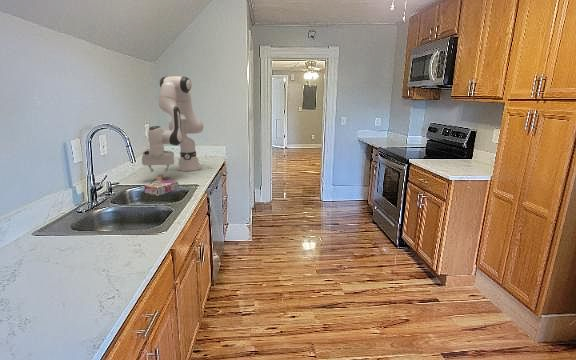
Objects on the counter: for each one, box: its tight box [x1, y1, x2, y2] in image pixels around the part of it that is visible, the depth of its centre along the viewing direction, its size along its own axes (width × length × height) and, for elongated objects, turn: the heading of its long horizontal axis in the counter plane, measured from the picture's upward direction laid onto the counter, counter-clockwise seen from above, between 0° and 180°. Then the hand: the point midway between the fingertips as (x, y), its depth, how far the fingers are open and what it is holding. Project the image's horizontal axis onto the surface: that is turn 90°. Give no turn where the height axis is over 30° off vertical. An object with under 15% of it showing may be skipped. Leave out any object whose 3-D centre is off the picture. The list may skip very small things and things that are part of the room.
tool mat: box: [149, 176, 171, 184], centre depth 222 cm, size 24×10×1 cm, turn 8°
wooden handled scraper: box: [150, 173, 165, 184], centre depth 221 cm, size 17×6×3 cm, turn 9°
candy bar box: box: [144, 179, 180, 197], centre depth 201 cm, size 11×5×16 cm
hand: (159, 171), depth 223 cm, fingers open, 8 cm apart
